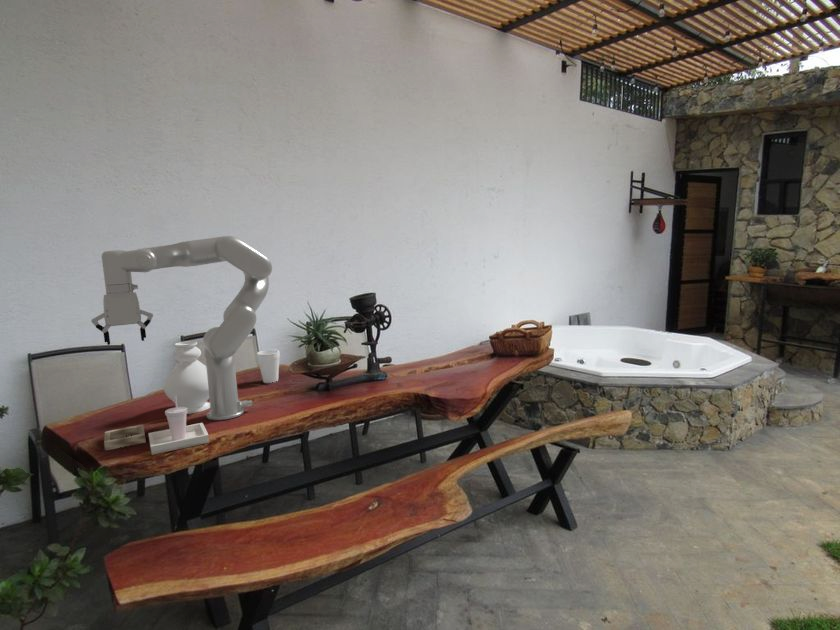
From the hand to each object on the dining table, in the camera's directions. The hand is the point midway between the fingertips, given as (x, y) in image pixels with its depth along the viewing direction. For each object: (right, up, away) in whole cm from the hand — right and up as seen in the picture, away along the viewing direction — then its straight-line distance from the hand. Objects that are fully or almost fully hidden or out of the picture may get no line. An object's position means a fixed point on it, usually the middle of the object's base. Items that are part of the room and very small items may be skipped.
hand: (126, 342), depth 169 cm
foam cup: (+29, -20, +61) cm, 70 cm away
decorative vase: (+10, -26, +27) cm, 39 cm away
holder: (+2, -31, -3) cm, 31 cm away
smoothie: (+20, -30, -5) cm, 37 cm away
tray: (+20, -31, -5) cm, 37 cm away
